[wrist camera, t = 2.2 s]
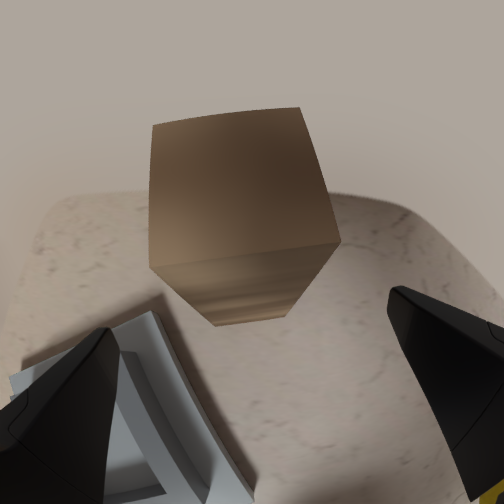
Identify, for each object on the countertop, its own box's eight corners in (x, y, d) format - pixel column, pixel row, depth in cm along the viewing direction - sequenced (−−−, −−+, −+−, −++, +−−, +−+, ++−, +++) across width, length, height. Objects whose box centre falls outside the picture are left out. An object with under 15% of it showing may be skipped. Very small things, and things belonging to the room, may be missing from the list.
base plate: (254, 492, 15) (254, 520, 11) (95, 528, 13) (73, 548, 9) (157, 313, 19) (136, 302, 15) (20, 377, 17) (-13, 375, 13)
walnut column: (284, 316, 19) (341, 241, 7) (215, 326, 19) (149, 267, 7) (273, 251, 21) (299, 107, 8) (207, 260, 20) (153, 125, 8)
